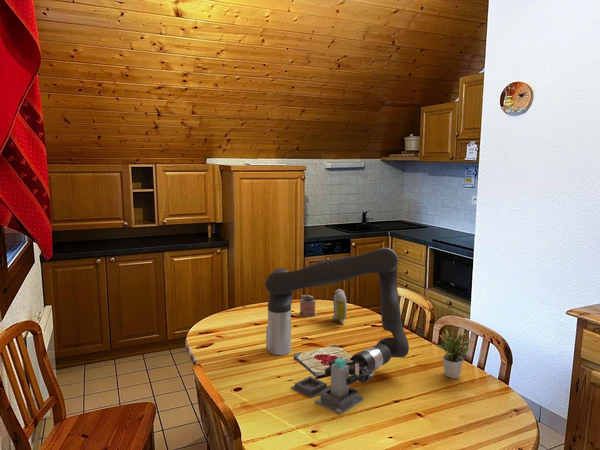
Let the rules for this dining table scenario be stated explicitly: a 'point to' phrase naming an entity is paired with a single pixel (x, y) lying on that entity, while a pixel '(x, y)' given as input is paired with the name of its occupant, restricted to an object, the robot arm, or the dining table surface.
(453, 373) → the house plant
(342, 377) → the plug
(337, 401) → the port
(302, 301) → the lighter
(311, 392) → the grey square tray
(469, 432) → the dining table surface
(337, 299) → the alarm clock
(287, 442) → the dining table surface
